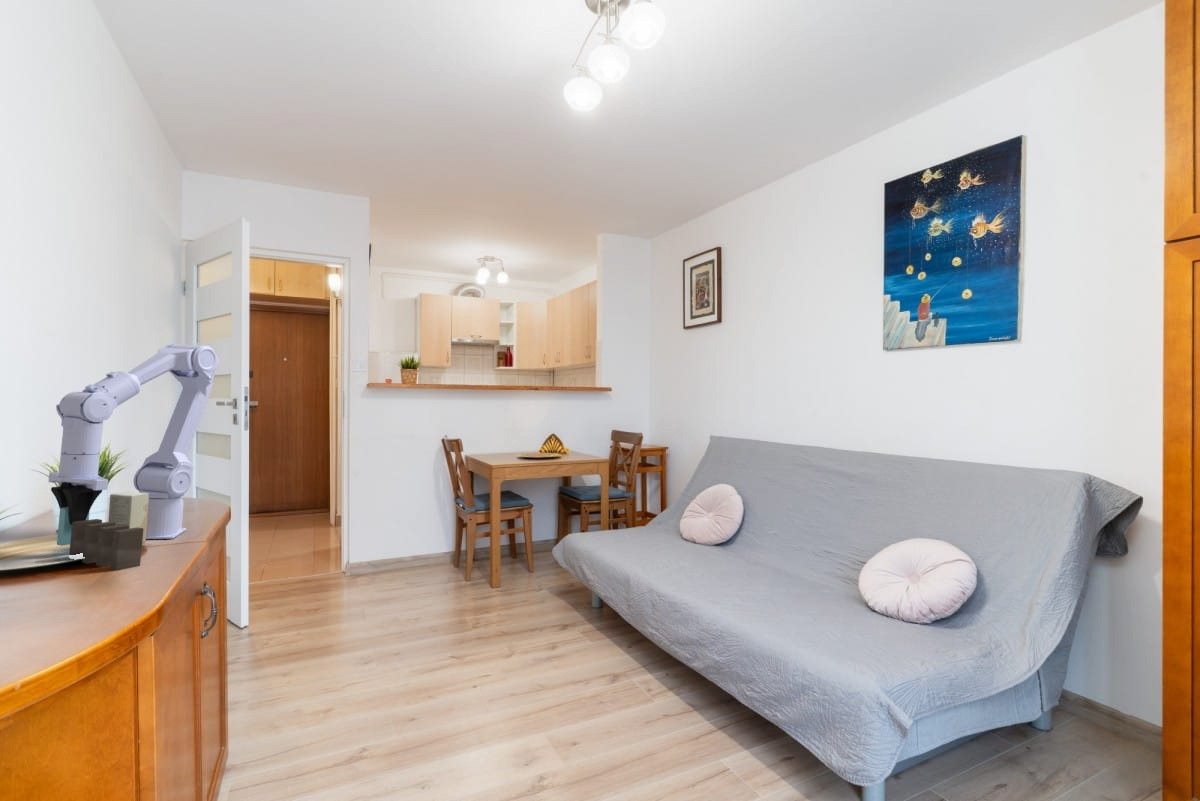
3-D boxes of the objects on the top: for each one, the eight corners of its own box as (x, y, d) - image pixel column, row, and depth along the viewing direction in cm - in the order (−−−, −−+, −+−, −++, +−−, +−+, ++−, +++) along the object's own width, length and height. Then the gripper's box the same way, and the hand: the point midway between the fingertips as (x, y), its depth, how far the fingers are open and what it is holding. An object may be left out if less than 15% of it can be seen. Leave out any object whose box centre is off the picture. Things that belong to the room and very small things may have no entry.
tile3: (82, 562, 107) (85, 524, 107) (106, 557, 111) (110, 521, 111) (87, 563, 106) (91, 526, 106) (112, 559, 110) (115, 522, 110)
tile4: (95, 565, 105) (99, 527, 106) (120, 561, 109) (123, 524, 109) (101, 567, 105) (105, 528, 105) (125, 562, 109) (129, 525, 109)
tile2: (68, 559, 108) (72, 522, 108) (93, 554, 112) (96, 518, 112) (74, 560, 108) (77, 523, 108) (98, 555, 111) (102, 519, 112)
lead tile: (56, 544, 110) (60, 508, 110) (81, 540, 113) (84, 505, 113) (61, 545, 109) (65, 509, 109) (86, 541, 113) (89, 506, 113)
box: (146, 545, 121) (151, 493, 121) (127, 550, 116) (132, 495, 117) (123, 543, 121) (128, 490, 122) (104, 547, 117) (109, 493, 117)
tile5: (110, 569, 104) (113, 530, 104) (134, 564, 108) (137, 527, 108) (115, 570, 104) (119, 532, 104) (140, 565, 107) (143, 528, 108)
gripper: (32, 450, 110) (24, 521, 110) (79, 457, 105) (72, 531, 105) (75, 449, 117) (69, 516, 117) (122, 456, 112) (115, 525, 112)
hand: (73, 523), depth 111 cm, fingers closed on lead tile, 1 cm apart
